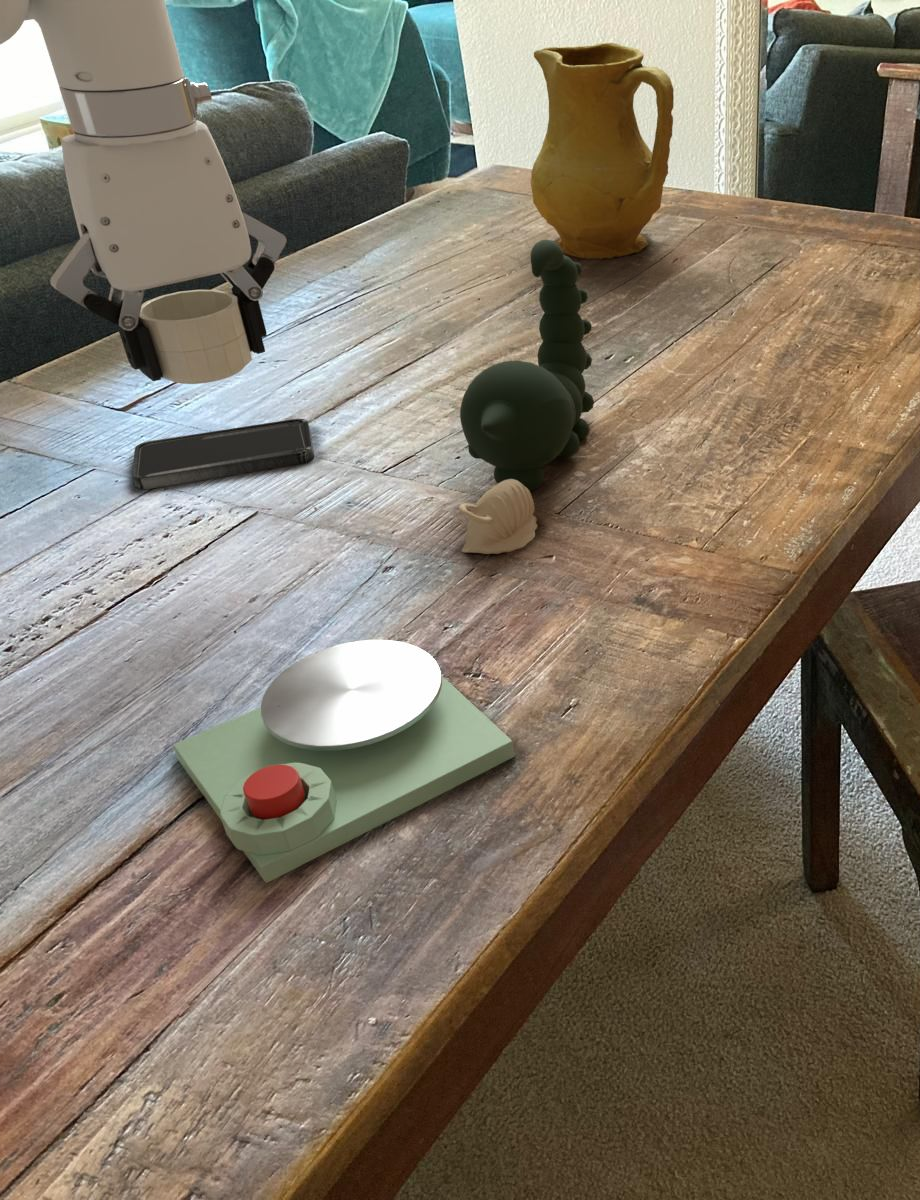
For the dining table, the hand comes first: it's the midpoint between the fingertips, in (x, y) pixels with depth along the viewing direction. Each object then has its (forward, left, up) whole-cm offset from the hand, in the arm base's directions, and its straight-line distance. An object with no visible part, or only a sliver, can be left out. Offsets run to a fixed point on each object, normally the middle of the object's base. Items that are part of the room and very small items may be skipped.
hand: (203, 359), depth 90 cm
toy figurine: (+26, -3, -16) cm, 30 cm away
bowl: (0, 0, -1) cm, 1 cm away
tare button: (-12, -35, -13) cm, 39 cm away
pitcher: (+66, +45, -16) cm, 81 cm away
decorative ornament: (+15, -14, -16) cm, 26 cm away
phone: (+4, +16, -16) cm, 23 cm away
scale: (-6, -31, -16) cm, 35 cm away
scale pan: (-4, -29, -13) cm, 32 cm away
